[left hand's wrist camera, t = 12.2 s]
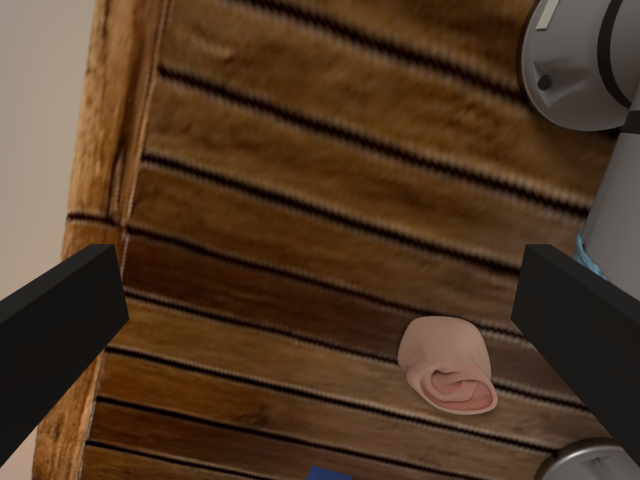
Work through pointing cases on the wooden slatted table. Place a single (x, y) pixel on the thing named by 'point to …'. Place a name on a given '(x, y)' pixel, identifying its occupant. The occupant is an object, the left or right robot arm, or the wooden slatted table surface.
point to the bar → (326, 475)
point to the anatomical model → (448, 365)
